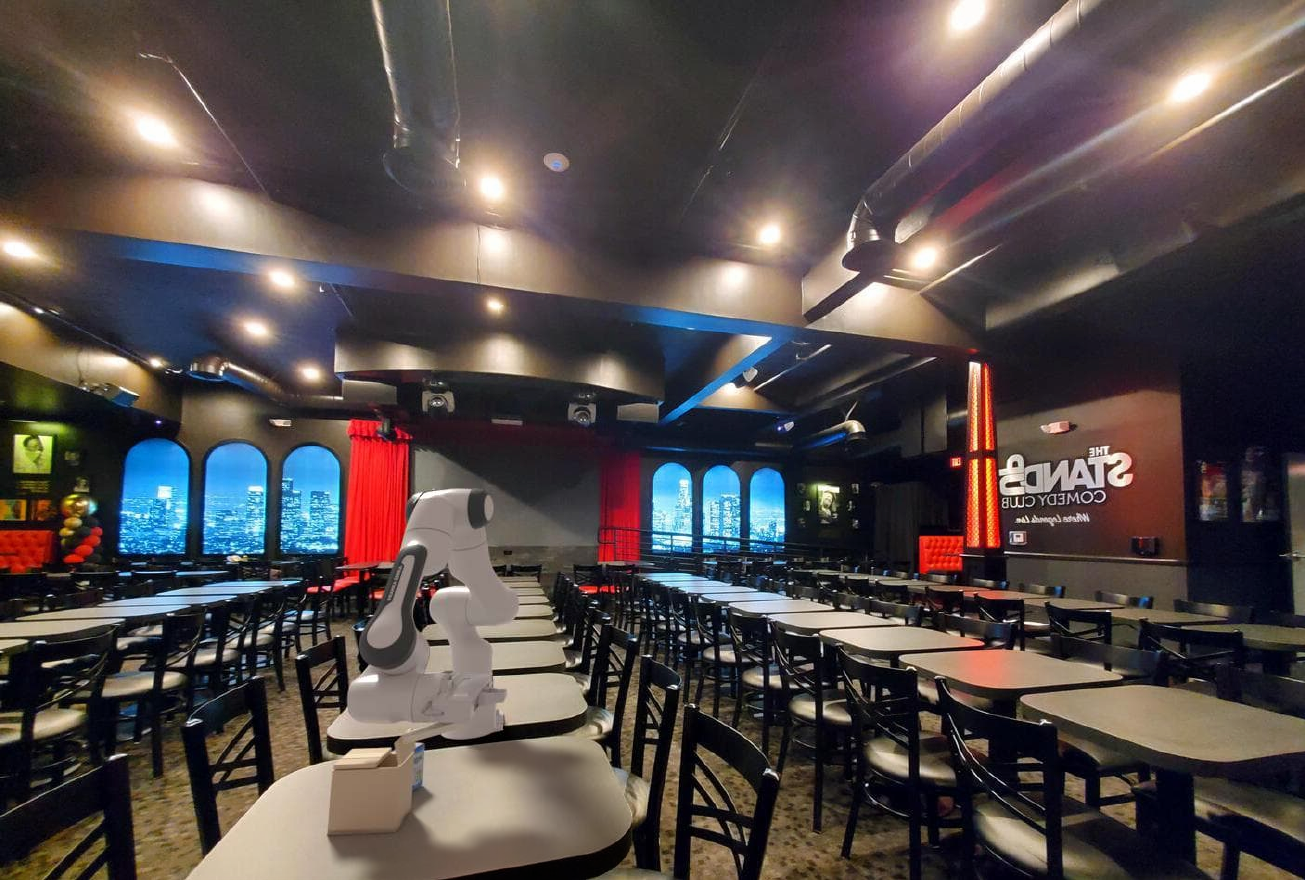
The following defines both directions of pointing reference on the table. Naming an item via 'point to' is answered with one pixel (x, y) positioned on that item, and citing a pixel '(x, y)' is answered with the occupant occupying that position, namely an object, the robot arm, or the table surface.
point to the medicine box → (417, 766)
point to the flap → (421, 737)
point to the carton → (370, 792)
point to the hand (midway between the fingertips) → (505, 695)
